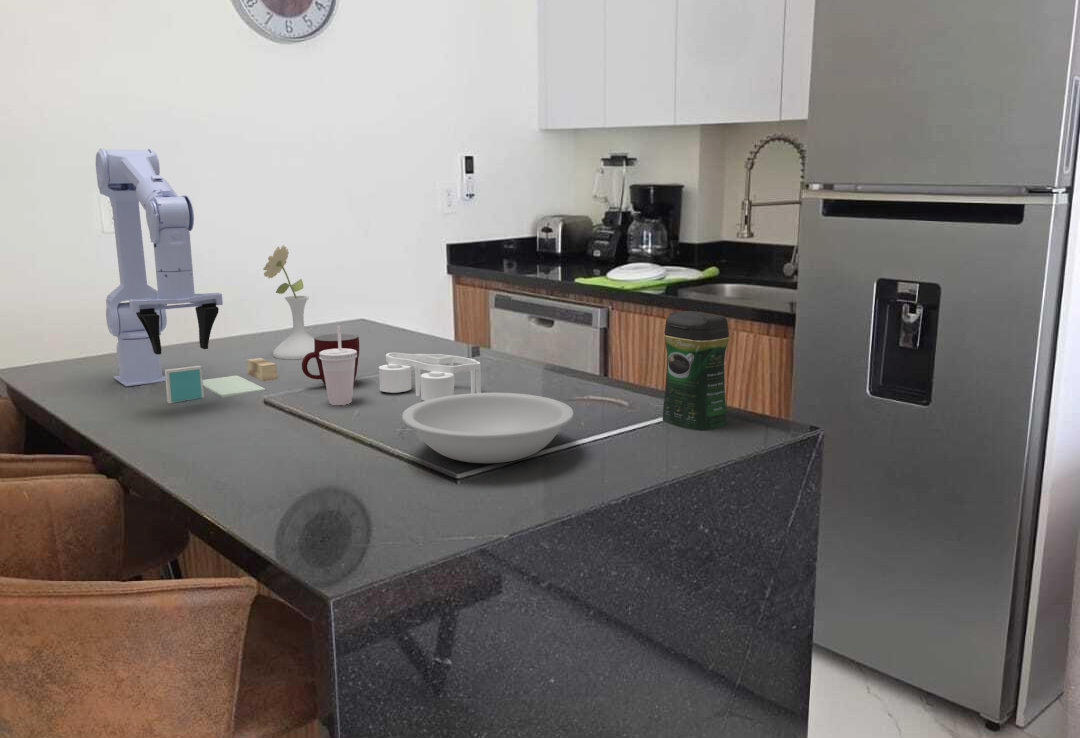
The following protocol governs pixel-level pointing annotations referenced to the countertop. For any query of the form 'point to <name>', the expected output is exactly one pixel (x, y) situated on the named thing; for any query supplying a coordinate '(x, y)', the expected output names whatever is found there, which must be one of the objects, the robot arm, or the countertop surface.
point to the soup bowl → (488, 425)
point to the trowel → (261, 369)
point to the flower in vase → (299, 339)
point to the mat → (231, 386)
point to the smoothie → (339, 372)
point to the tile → (184, 384)
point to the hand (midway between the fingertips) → (181, 350)
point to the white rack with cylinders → (426, 374)
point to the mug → (330, 343)
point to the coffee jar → (695, 370)
